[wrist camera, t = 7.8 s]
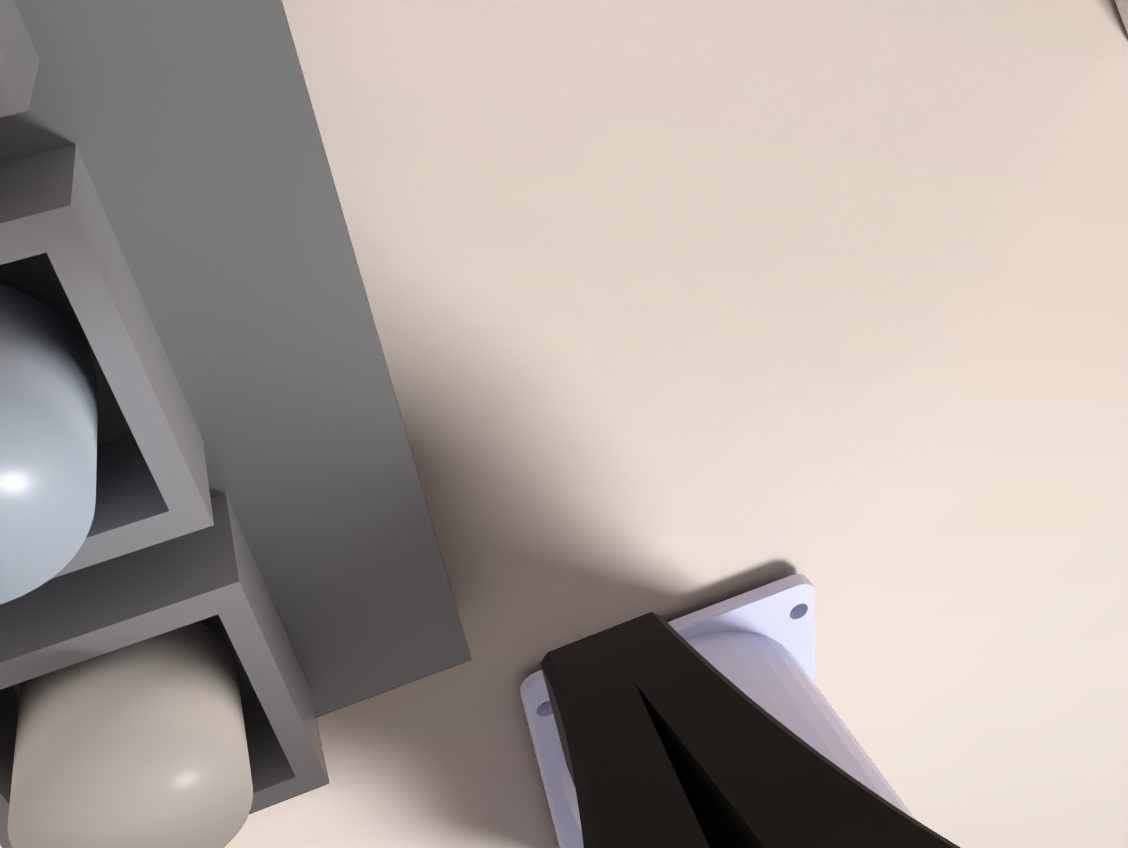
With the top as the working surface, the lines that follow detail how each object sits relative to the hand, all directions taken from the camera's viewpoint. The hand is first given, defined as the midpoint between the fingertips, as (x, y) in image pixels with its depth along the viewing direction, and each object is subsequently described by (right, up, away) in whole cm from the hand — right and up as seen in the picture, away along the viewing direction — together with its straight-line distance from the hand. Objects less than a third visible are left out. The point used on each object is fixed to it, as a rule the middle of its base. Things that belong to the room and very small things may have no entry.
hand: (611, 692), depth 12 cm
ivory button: (-8, -2, +7) cm, 11 cm away
